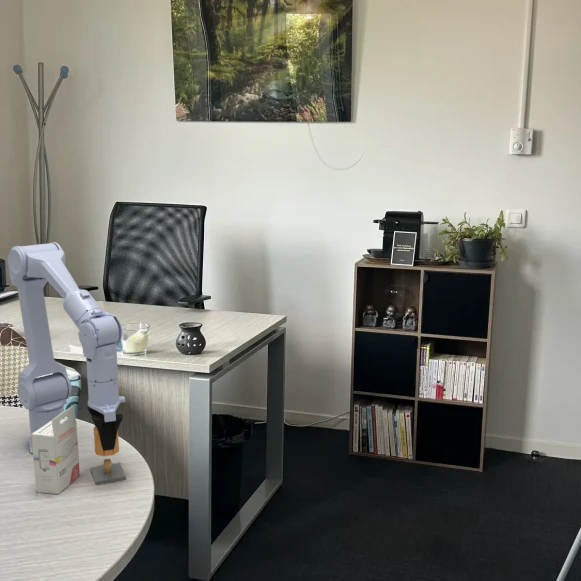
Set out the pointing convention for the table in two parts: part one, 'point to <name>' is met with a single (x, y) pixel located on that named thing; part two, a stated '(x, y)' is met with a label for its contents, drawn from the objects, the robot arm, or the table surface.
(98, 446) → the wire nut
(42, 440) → the ink cartridge box
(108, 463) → the plate
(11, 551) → the table surface
